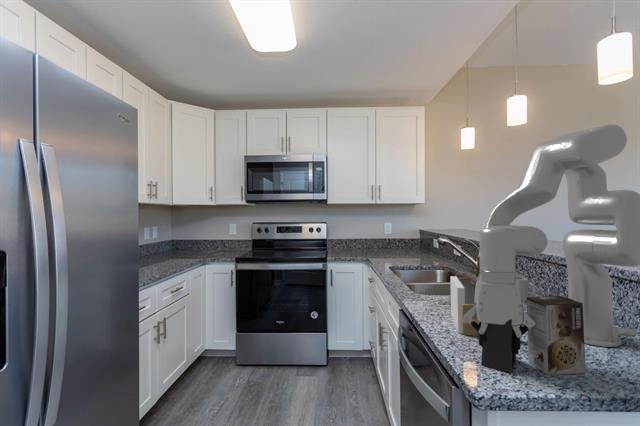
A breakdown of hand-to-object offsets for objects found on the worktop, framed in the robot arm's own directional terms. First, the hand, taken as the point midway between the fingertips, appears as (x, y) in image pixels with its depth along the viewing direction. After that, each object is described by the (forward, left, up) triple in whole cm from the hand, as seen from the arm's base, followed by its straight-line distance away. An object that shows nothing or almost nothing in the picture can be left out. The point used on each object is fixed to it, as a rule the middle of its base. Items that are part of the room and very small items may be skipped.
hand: (499, 349), depth 73 cm
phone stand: (0, 0, -3) cm, 3 cm away
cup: (-24, -63, -3) cm, 68 cm away
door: (-1, -15, -3) cm, 16 cm away
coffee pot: (-3, -40, -3) cm, 40 cm away
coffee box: (-12, -1, -3) cm, 12 cm away
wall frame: (+6, -26, -3) cm, 27 cm away
